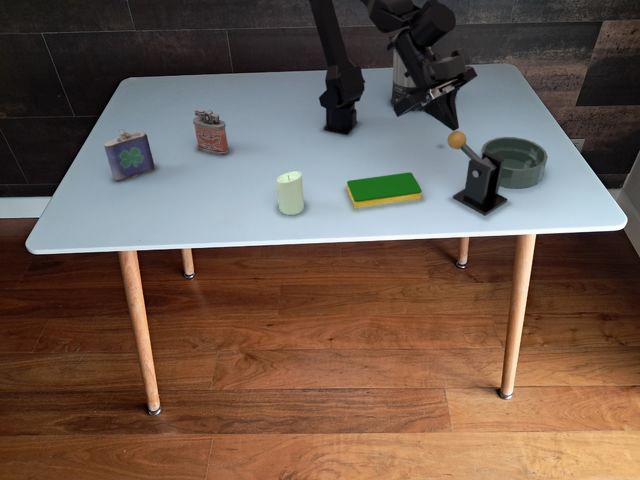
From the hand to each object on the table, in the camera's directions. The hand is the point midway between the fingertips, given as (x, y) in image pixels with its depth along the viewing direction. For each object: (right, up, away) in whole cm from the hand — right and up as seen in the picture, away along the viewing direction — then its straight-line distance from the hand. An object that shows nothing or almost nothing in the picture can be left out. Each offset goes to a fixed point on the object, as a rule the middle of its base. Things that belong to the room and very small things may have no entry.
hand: (456, 129), depth 114 cm
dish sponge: (-13, -12, +7) cm, 19 cm away
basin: (+14, -7, +11) cm, 19 cm away
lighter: (-51, -1, +22) cm, 56 cm away
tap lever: (+2, -6, +1) cm, 6 cm away
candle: (-32, -15, +4) cm, 36 cm away
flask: (-67, -7, +16) cm, 70 cm away
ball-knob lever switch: (+6, -14, +4) cm, 15 cm away
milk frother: (0, +15, +39) cm, 41 cm away
